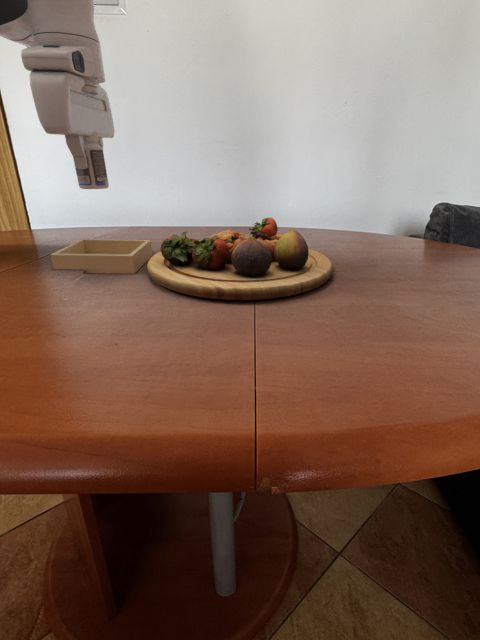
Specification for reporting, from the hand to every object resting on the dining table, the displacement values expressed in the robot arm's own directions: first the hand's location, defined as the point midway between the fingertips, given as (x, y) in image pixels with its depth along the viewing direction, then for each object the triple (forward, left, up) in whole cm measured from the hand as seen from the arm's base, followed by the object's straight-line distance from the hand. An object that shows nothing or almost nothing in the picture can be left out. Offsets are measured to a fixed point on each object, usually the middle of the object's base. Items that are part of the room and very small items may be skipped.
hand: (90, 168), depth 63 cm
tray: (0, 0, -16) cm, 16 cm away
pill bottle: (0, 0, -3) cm, 3 cm away
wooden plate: (+25, -4, -16) cm, 30 cm away
